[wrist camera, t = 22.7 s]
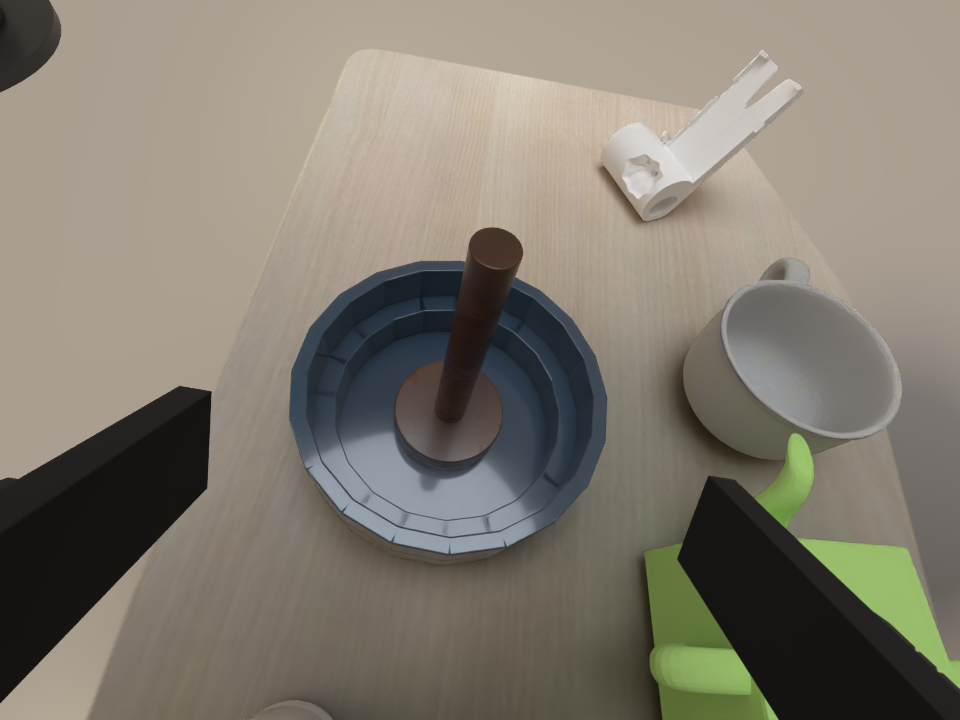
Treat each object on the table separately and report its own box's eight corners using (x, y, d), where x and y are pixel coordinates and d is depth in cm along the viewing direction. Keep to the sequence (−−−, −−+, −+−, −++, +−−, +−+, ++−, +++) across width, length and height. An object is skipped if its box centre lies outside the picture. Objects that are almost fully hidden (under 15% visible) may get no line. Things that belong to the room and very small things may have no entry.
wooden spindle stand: (373, 437, 28) (355, 265, 14) (428, 358, 31) (458, 152, 17) (466, 491, 27) (544, 368, 13) (513, 405, 30) (616, 232, 16)
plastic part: (594, 166, 44) (652, 35, 34) (676, 153, 47) (751, 28, 37) (634, 224, 41) (710, 99, 31) (718, 206, 44) (813, 86, 34)
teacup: (791, 503, 31) (905, 472, 24) (643, 427, 32) (713, 377, 25) (809, 348, 38) (902, 289, 31) (687, 289, 39) (751, 219, 32)
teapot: (764, 921, 21) (1050, 1162, 12) (545, 680, 24) (640, 724, 15) (870, 638, 28) (1107, 652, 19) (688, 477, 31) (815, 420, 22)
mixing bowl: (247, 469, 27) (211, 435, 21) (404, 278, 35) (406, 219, 29) (502, 624, 25) (531, 628, 20) (604, 386, 33) (644, 344, 28)
